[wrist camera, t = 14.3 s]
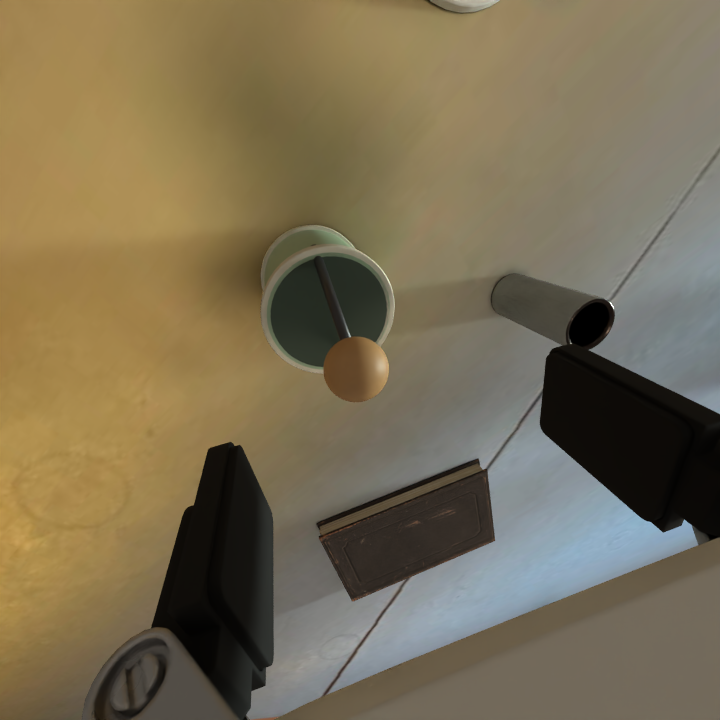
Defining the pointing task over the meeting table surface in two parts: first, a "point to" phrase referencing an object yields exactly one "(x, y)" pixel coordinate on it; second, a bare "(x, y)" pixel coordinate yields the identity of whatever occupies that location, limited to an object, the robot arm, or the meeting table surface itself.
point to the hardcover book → (410, 530)
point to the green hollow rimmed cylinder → (327, 310)
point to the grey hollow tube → (554, 310)
